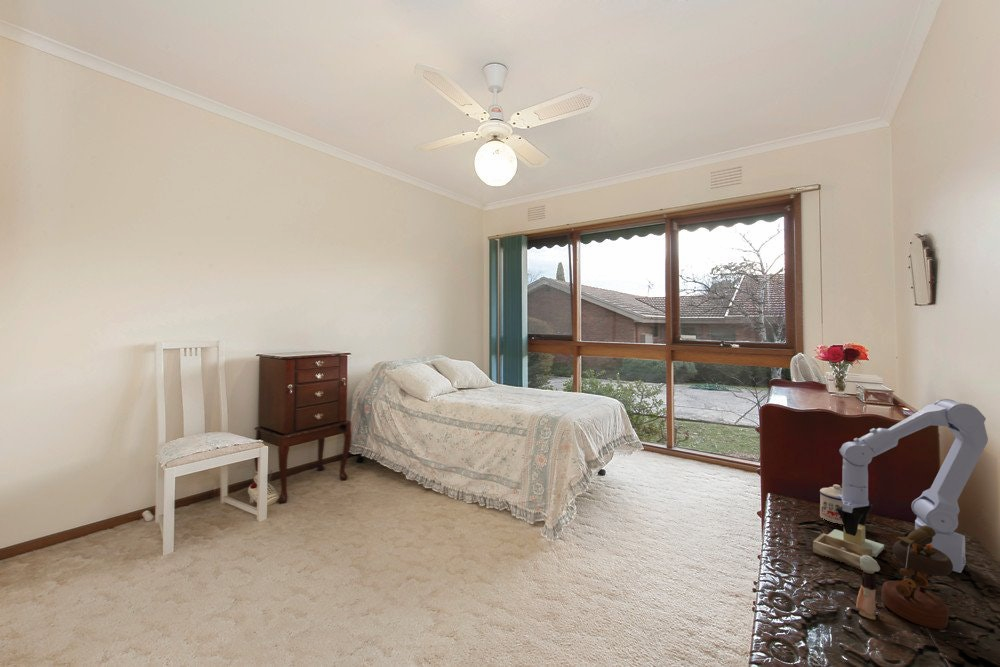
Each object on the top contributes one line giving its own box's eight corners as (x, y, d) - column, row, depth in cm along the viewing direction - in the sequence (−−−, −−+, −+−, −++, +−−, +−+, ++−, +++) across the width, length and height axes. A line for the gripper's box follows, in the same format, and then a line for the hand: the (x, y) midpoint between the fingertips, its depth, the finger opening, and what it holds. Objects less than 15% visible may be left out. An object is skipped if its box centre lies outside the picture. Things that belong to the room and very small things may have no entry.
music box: (941, 641, 83) (943, 541, 83) (871, 609, 92) (872, 520, 92) (961, 614, 91) (962, 523, 91) (894, 587, 100) (895, 505, 100)
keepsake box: (872, 561, 112) (872, 549, 112) (863, 570, 107) (863, 558, 107) (822, 544, 121) (822, 533, 121) (812, 552, 116) (812, 541, 116)
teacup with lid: (815, 519, 137) (816, 484, 137) (823, 511, 143) (823, 478, 143) (863, 532, 128) (863, 495, 128) (869, 524, 134) (869, 488, 134)
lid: (884, 549, 118) (884, 529, 118) (875, 559, 114) (876, 537, 113) (834, 533, 128) (835, 514, 128) (825, 541, 123) (825, 521, 123)
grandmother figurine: (855, 601, 95) (856, 546, 95) (878, 609, 92) (878, 552, 92) (856, 619, 89) (857, 561, 89) (880, 627, 86) (881, 567, 86)
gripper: (845, 475, 128) (845, 519, 128) (829, 485, 120) (829, 532, 120) (875, 482, 122) (875, 527, 122) (861, 493, 114) (860, 542, 114)
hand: (854, 530), depth 120 cm, fingers open, 7 cm apart
